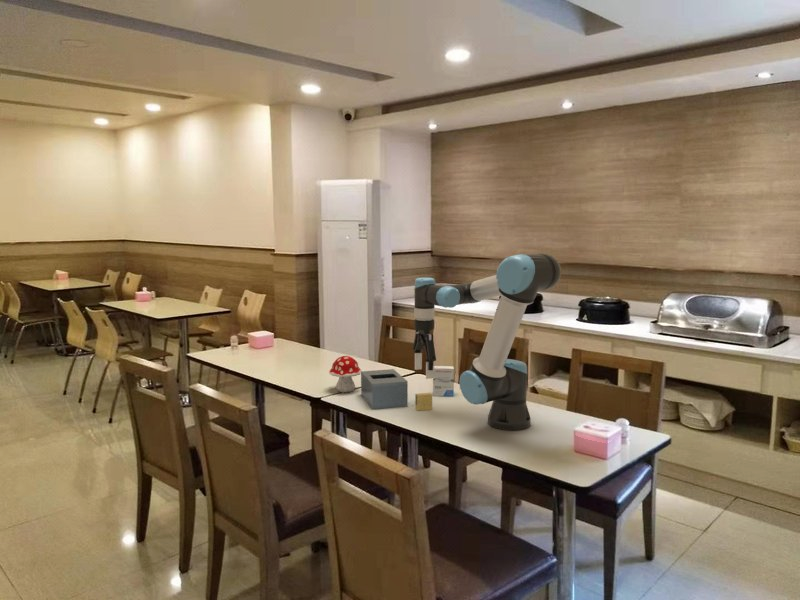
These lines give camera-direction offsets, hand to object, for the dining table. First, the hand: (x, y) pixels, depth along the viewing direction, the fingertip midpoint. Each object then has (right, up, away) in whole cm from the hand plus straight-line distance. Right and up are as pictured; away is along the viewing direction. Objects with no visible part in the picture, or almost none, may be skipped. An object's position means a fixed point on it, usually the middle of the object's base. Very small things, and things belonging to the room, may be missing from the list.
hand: (423, 373), depth 226 cm
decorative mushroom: (-32, -11, +26) cm, 43 cm away
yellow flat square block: (0, -14, +2) cm, 14 cm away
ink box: (+9, -12, +21) cm, 25 cm away
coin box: (-16, -12, +13) cm, 24 cm away
